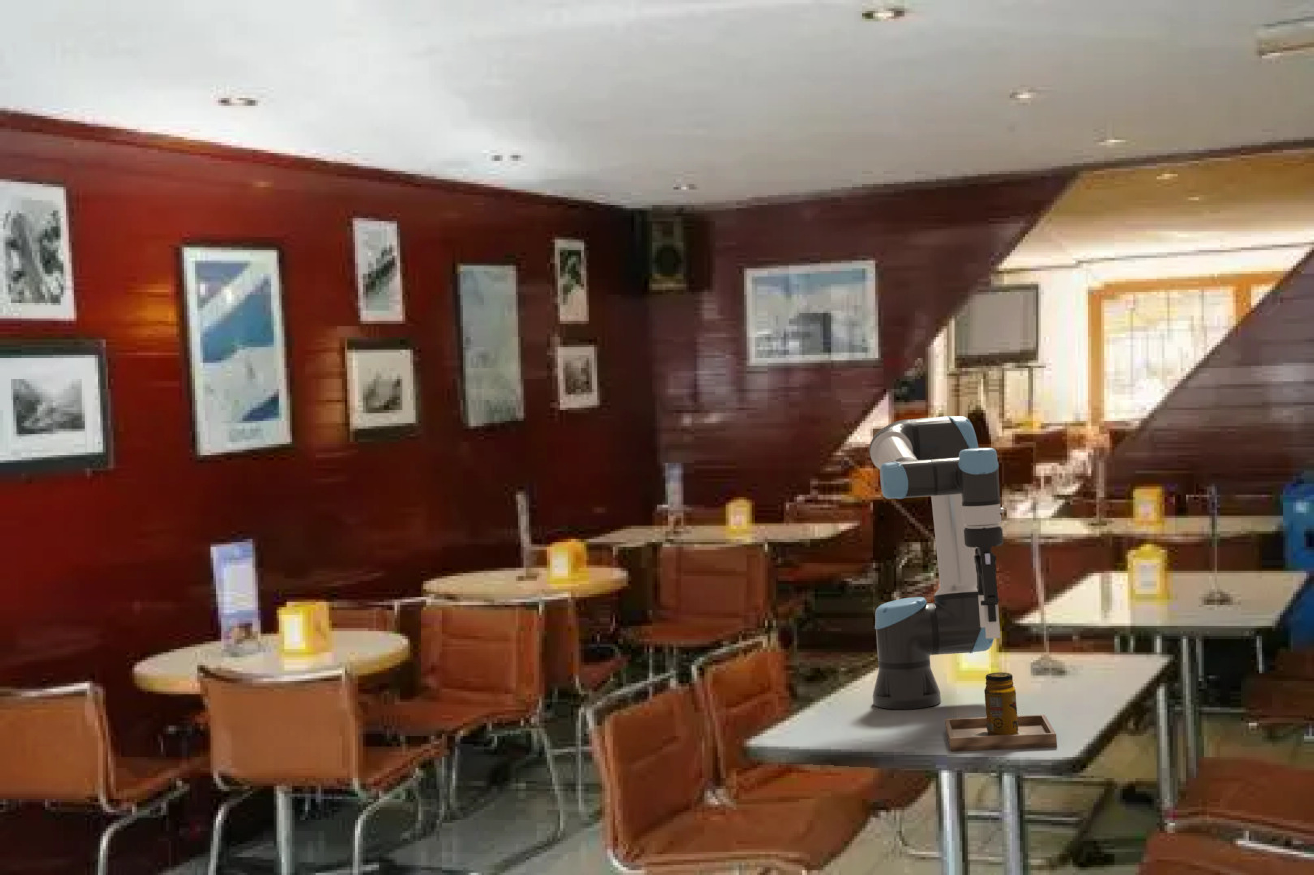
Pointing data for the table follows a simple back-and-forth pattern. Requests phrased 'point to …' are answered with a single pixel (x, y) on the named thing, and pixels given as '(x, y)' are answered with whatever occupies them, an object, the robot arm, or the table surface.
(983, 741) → the walnut tray
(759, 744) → the table surface
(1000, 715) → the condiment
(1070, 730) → the table surface
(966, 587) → the robot arm
